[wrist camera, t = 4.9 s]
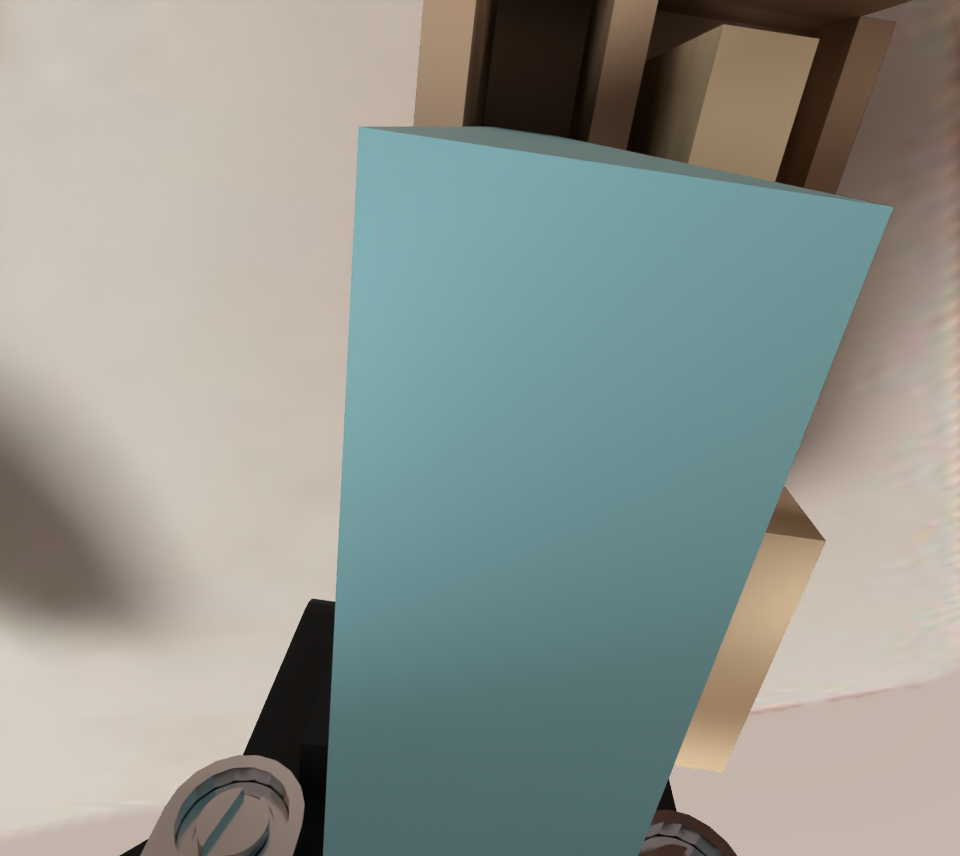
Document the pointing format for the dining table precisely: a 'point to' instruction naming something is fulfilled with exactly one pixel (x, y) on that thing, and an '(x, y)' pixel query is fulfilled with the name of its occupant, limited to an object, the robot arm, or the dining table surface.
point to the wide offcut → (723, 100)
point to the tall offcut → (752, 635)
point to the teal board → (557, 473)
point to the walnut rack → (636, 67)
